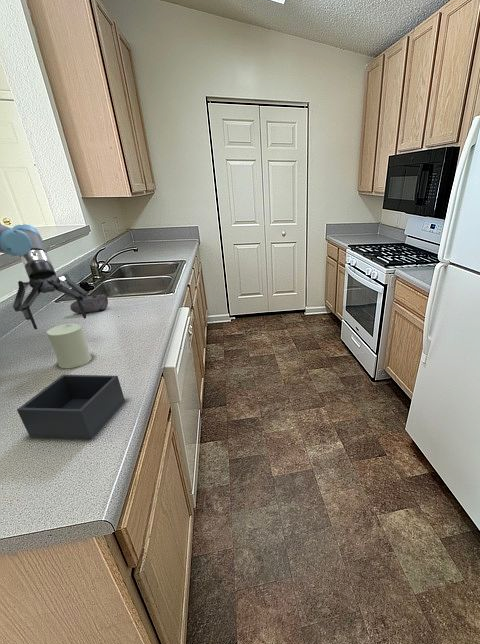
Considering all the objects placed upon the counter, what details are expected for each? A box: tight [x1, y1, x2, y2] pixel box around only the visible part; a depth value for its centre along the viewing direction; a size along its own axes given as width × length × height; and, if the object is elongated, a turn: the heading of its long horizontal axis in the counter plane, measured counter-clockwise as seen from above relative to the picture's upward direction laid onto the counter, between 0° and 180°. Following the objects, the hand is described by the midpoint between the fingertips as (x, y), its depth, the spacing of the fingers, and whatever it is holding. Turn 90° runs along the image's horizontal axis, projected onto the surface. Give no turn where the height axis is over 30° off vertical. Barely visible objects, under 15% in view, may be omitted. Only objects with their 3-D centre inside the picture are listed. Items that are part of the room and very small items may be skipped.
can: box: [46, 323, 93, 369], centre depth 105 cm, size 9×9×12 cm
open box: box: [16, 374, 126, 440], centre depth 80 cm, size 15×15×8 cm
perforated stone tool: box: [70, 293, 109, 314], centre depth 148 cm, size 15×5×7 cm, turn 119°
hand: (61, 321), depth 107 cm, fingers open, 13 cm apart
